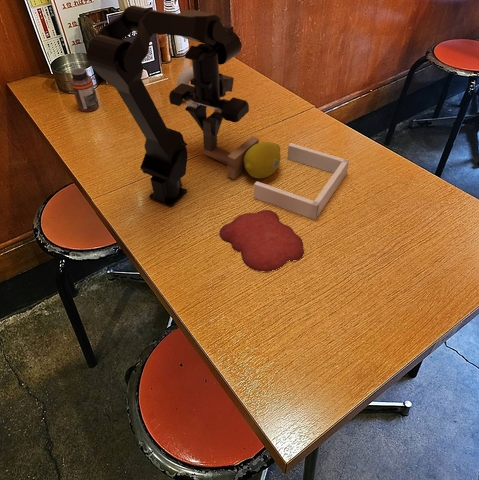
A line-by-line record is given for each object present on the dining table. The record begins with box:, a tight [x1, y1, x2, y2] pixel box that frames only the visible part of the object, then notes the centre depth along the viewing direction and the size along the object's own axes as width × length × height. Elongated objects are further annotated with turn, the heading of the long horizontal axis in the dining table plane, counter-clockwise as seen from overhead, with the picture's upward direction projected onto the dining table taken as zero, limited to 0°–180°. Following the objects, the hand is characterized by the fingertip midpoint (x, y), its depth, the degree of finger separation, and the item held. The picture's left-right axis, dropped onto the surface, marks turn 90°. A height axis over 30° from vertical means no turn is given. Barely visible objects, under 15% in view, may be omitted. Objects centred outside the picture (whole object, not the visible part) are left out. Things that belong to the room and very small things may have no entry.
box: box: [253, 142, 350, 221], centre depth 105 cm, size 18×15×4 cm
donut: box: [176, 65, 194, 87], centre depth 133 cm, size 10×4×10 cm, turn 117°
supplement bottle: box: [70, 67, 100, 113], centre depth 130 cm, size 6×6×11 cm
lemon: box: [244, 141, 282, 179], centre depth 107 cm, size 11×8×8 cm
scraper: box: [202, 115, 260, 180], centre depth 110 cm, size 10×12×10 cm
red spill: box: [218, 209, 305, 272], centre depth 94 cm, size 18×14×2 cm
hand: (210, 133), depth 111 cm, fingers closed on scraper, 3 cm apart
